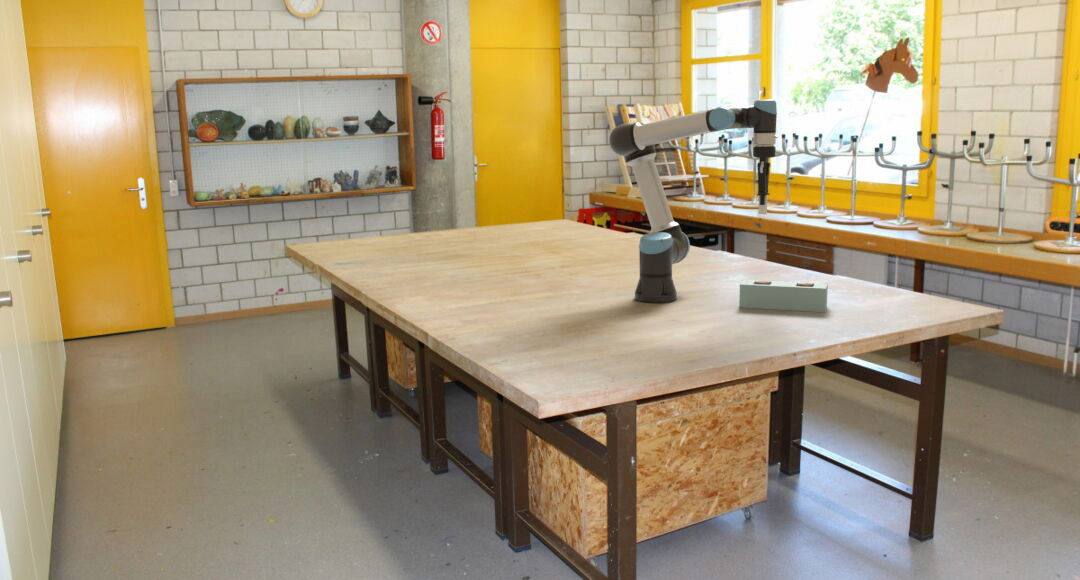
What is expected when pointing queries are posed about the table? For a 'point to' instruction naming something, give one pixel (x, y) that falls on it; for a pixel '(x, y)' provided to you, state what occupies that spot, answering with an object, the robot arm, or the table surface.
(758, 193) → the robot arm
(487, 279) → the table surface
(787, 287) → the socket board
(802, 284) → the peg
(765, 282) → the peg
